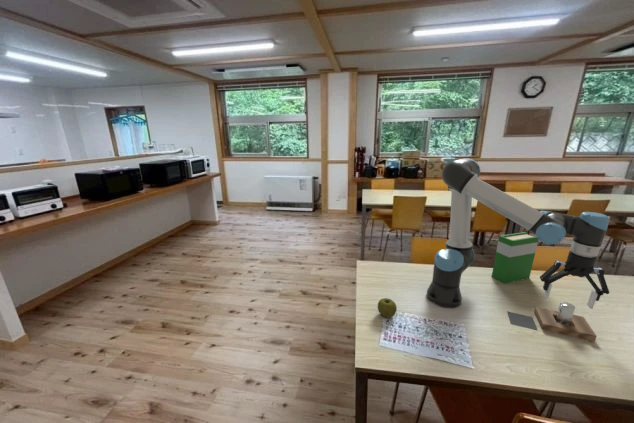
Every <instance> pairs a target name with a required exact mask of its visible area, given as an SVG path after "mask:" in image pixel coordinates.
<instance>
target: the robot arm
mask: <svg viewBox="0 0 634 423" xmlns="http://www.w3.org/2000/svg"><path fill="white" fill-rule="evenodd" d="M480 174H481V167H480V165H479V163H478V162H477V161H476V160H474V159H472V158H459V159H454V160H452V161H450V162H447V163H446V164H445V165H444V166H443V168H442V170H441V178H442V181H443V182H444V184H445V185H446V186H447V188H448V190H450V192H451V194H450V195H451V197H450V216H449V217H450V222H449V239H448V240H446V241H445V249H444V248H443V249H439V250H438V251H437V252H436V254H435V256H434V259H433V260H434V263H433V274H432V281H431V282H430V285H429V286H428V288H427V290H426V298H427V299H428V301H430V302H431V303H433V304H434V305H436V306H440V307H442V308H448V309H449V308H450V309H451V308H452V309H454V308H458V307H459V306H461V305H462V300H463V298H462V293H461V288H460V285H461V279H462V275H463V273H464V272H465V271H466V270H467V269H468V268H469V267H470V266H471V265H472V264H473V262H474V260H475V251H474V249H473V246H474V245H473V242H471V240H470V237H471V236H470V235H471V234H470V232H471V217H472V201H473V199H474V200H476V201H478V202H479V203H481V204H483V205H484V206H486V207H487V208H489V209H491V210H493V211H495V212H496V213H498V214H500V215H501V216H503V217H505V218H507V219H508V220H510V221H512V222H514V223H515V224H517V225H519V226H521V227H523V228H524V229H526V230H527V231H528V232H531V233H532V234H534V235H535V237H536V236H537V238H538V241H539V242H541V243H543V244H545V245H556V244H558V243H561V242H562V241H563V240H564V239H565V237H566V235H567V236H573V239H572V242H571V245H570V248H569V249H570V250H569V252H568V255H567V258H566V261H565V262H562V261H560V260H557V259H556V260H555V261H554V262H553V265H552V266H550V267H549V268H548V269H547V270H546V271H545V272H544V273H542V274H541V275H540V276H539V279H540V281H541V282H544V283H543V286H542V289H543V290H544V293H543V296H544V299H545V300H549V296H550V293H551V291H552V286H553V284H552V283H554V282H556V281H559V280H560V279H562V278H564V277H568V276H573V277H579V278H584V277H585V278H586V279H587V281H588V282H589V283H590V285H591V286H592V287H593V289H591V292H590V295H589V297H588V300H587V303H586V305H587V307H588V308H589V309H591V310H592V309H594V306H595V304H596V302H599V301H600V298H601V296H604V294H606V295H609V294H610V290H609V287H608V284H607V282H606V279H605V270H604V269H603V268H602V267H601V266H598V267H595V264H596V261H597V258H598V257H597V256H598V255H599V252H600V250H601V247H602V245H603V241H604V239H605V236H606V234H607V233H606V232H607V231H608V228H609V227H608V226H609V223H610V218H609V216H608V215H606V214H604V213H600V212H593V211H583V212H581V213H580V215H571V214H565V213H559V212H555V211H548V210H540V211H539V210H538V209H537V208H535V207H532V206H530V205H528V204H527V203H525V202H523V201H521V200H519V199H517V198H515V197H513V195H512V196H511V195H510V194H508V193H506V192H504V191H502V190H501V189H499V188H497V187H496V186H494V185H491V184H489V183H487V182H485V181H484V180H482V179H480ZM562 267H564V268H562ZM560 268H562V269H561V270H560ZM558 270H559V271H558ZM593 272H594V273H595V274H596V276H597V278H598V282H599V284H600V287H601V288H600V287H599V286H598V285H597V284H596V282H595V280H594V279H593V277H592V276H591V274H592V273H593Z"/></svg>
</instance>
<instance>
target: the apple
mask: <svg viewBox="0 0 634 423" xmlns="http://www.w3.org/2000/svg"><path fill="white" fill-rule="evenodd" d="M377 310H378V313H379V315H380V316H382V317H384V318H388V319H391V318H392V317H394V316H395V315H396V313H397V304H396V302H395V301H394V300H392V298H391V299H390V298H389V297H388V298H387V297H385V298H381V299H380V300H379V301H378V303H377Z"/></svg>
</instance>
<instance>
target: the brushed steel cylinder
mask: <svg viewBox="0 0 634 423" xmlns="http://www.w3.org/2000/svg"><path fill="white" fill-rule="evenodd" d="M575 310H576V305H573V304H572V303H569V302H566V301H561V302H559V307H558V310H557V311H558V313H557V317H556V322H557V323H561V324H565V325H570V323H571V320H572V317H573V315H574V312H575Z"/></svg>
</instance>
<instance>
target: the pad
mask: <svg viewBox="0 0 634 423" xmlns="http://www.w3.org/2000/svg"><path fill="white" fill-rule="evenodd" d="M506 311H507V310H506ZM507 316H508V319H509V322H510V325H513V326H518V327H522V328H526V329H530V330H535V331H539V330H538V327H537V324H536V322H535V320H534V318H533V316H530V315H526V314H522V313H515V312H511V311H507Z"/></svg>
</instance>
